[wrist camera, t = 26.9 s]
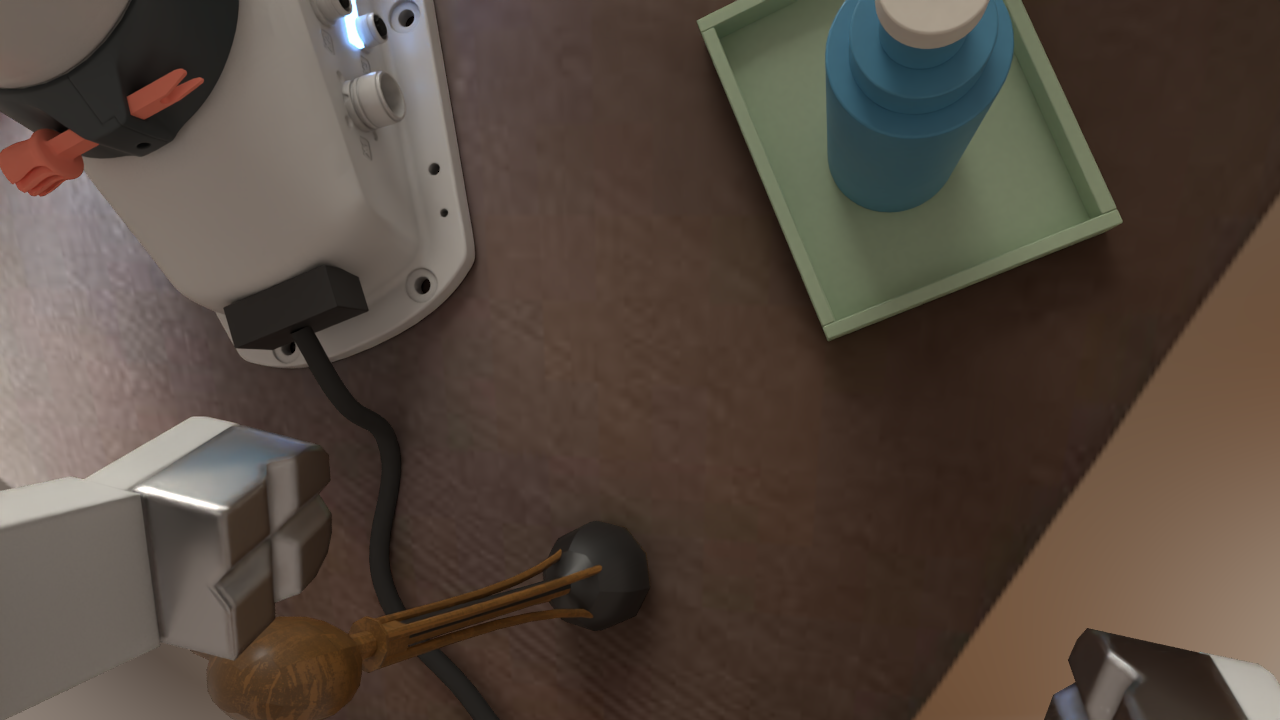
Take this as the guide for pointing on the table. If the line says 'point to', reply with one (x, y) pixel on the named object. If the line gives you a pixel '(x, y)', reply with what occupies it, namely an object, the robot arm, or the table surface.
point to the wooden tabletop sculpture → (426, 629)
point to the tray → (934, 231)
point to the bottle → (909, 93)
